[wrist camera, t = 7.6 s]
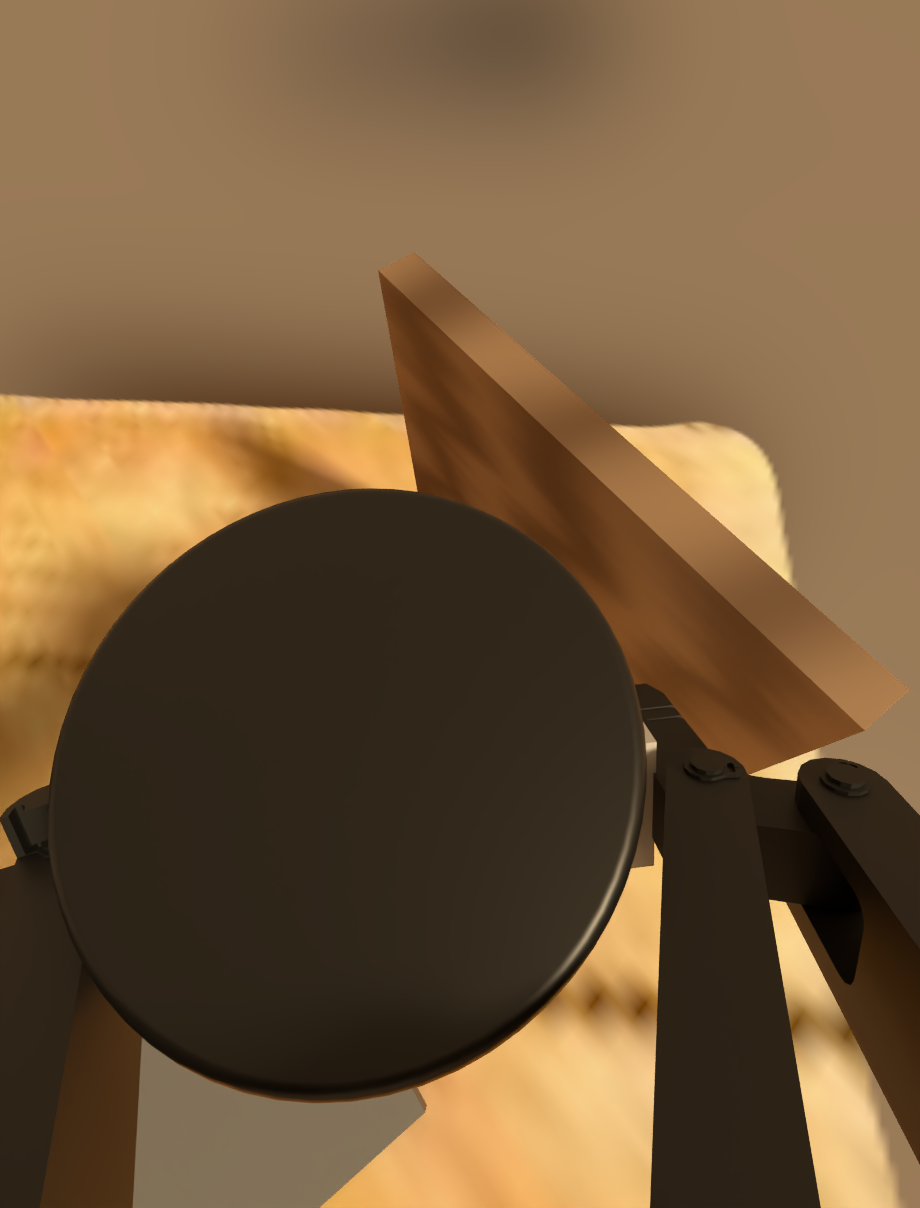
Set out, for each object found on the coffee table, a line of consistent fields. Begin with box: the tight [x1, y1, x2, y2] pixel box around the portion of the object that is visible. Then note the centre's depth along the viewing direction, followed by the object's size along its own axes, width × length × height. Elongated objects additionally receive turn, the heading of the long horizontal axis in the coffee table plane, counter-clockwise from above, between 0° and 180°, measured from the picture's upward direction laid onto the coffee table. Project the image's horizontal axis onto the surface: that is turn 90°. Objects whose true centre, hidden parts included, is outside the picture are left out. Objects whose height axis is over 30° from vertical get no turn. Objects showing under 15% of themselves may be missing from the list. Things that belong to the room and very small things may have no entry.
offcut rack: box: [378, 253, 909, 775], centre depth 23 cm, size 20×15×18 cm
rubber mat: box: [133, 1038, 427, 1208], centre depth 25 cm, size 14×12×1 cm
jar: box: [47, 489, 647, 1103], centre depth 13 cm, size 9×8×12 cm
